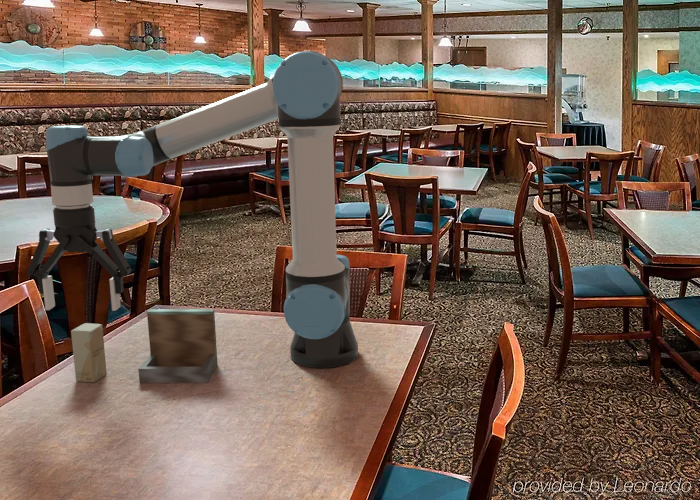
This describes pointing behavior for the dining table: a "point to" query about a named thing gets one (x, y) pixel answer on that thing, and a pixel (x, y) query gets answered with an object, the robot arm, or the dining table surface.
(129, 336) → the dining table surface
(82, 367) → the box
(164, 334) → the cleat board
